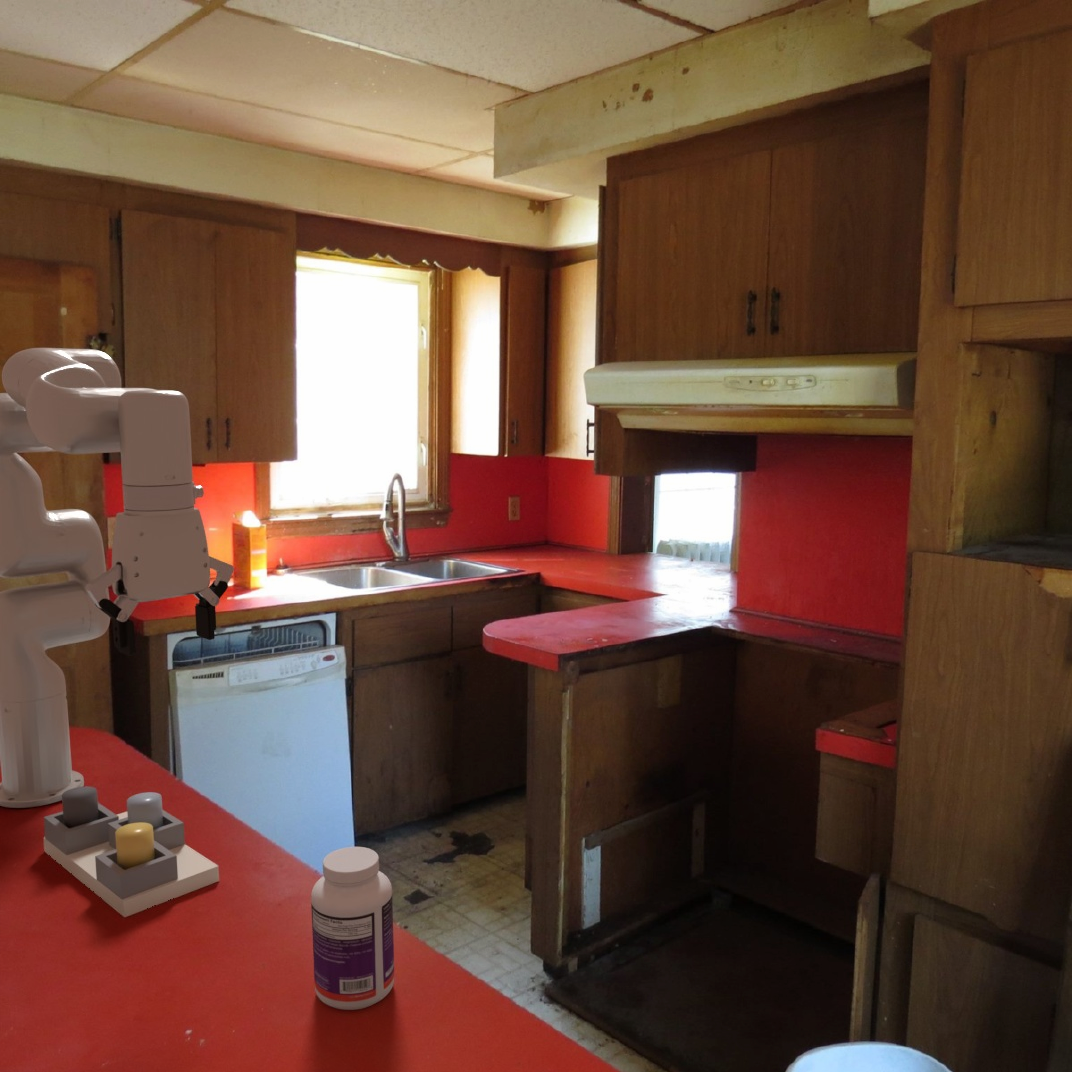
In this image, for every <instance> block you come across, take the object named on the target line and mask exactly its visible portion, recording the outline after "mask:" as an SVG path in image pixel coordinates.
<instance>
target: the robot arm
mask: <svg viewBox="0 0 1072 1072" xmlns="http://www.w3.org/2000/svg"><path fill="white" fill-rule="evenodd" d="M1 381H2V385H3V388H4V390H5V392H1V393H0V578H2V579H19V578H29V577H38V576H46V575H54V574H62V573H66V575H67V577H68V580H67V581H66V580H64V581H58V582H57V581H56V582H49V583H41V584H40V583H39V584H33V585H27V586H26V585H25V586H19V587H13V588H8V589H4V590H2V591H0V771H1V772H0V773H1V782H0V807H4V808H13V809H25V808H34V807H43V806H46V805H50V804H55V803H58V802H61V801H62V794H63V793H64V792H65V791H67V790H70V789H73V788H77V787H85V786H84V785H85V780H84V776H83V774H81V773H80V772H78V771H76V770H73V769H72V766H73V765H72V755H71V754H72V753H71V739H70V726H69V713H68V712H69V711H68V700H67V699H68V698H67V689H66V688H67V686H66V685H67V684H66V677H65V674H64V672H63V669H62V668H61V667H60V666H59V665H58V664H57V663H56V662H55V661H54V660H52V659H51V657H49V656H48V655H47V654H46V650H48V649H51V648H56V647H59V646H65V645H66V646H67V645H71V644H77V643H82V642H87V641H91V640H92V641H93V640H94V639H95V640H96V639H97V638H100V637H101V636H103V635H104V634H105V633H107V631H108V630H109V626H110V621H111V620H112V635H113V636H112V637H113V644H114V647H115V648H116V649H117V651H118V653H120V654H123V655H126V656H128V657H130V656H134V655H135V654H136V651H137V650H136V639H135V638H136V637H135V623H134V621H133V620H131V619H130V617H131V615H132V613H133V612H134V610H135V609H136V607H137V606H138V605H139V603H144V602H153V601H160V600H165V599H166V600H167V599H170V598H177V597H183V596H189V595H193V596H194V597H195V598H196V599H197V600H198V602H197V603H195V606H194V614H195V616H194V617H195V632H196V636H198V637H199V638H203V639H206V640H208V641H211V640H214V639H215V635H216V634H215V630H216V629H217V618H216V606H218V605H219V604H220V602H221V601H220V599H221V597H223V595H224V594H225V592H226V591H227V590H228V588H229V582H230V580H231V578H232V575H233V573H234V570H235V568H234V566H233V565H232V564H229V563H228V562H224V561H222V560H220V559H217V558H215V557H212V556H210V554H209V546H208V540H207V535H206V531H205V526H204V523H203V519H202V515H201V512H200V509H199V508H196V507H195V505H196V499H198V498H203V496H204V487H203V486H201V485H195V482H194V481H193V479H194V477H193V461H192V460H193V458H192V436H191V418H190V417H191V416H190V406H189V401H188V397H186V396H185V394H184V393H182V392H180V391H177V390H169V389H154V388H147V387H122V376H121V372H120V369H119V367H118V365H117V363H116V362H115V361H114V360H113V358H112V357H111V356H109V355H108V354H107V353H106V352H103V351H101V350H100V349H99V350H98V349H92V348H64V347H62V348H61V347H57V348H56V347H32V348H27V349H24V350H20V351H18V352H16V353H14V354H13V355H11V356H10V357H9V358H8V360H6V362H5V364H4V365H3V368H2V371H1ZM47 452H48V453H49V452H50V453H52V452H59V453H62V454H66V455H67V454H69V455H88V454H104V453H105V454H107V453H120V463H121V466H120V467H121V478H122V479H121V481H122V499H123V512H117V513H116V516H115V522H114V528H113V535H112V547H111V548H112V550H111V567H110V568H109V569H108V570H107V566H106V565H107V564H106V558H105V557H106V556H105V548H104V542H103V536H102V532H101V529H100V527H99V525H98V523H97V521H96V520H95V518H94V516H92V514H90V513H89V512H87V511H86V510H82V509H75V508H66V509H55V510H53V509H52V510H48V509H47V508H46V505H45V499H44V490H43V489H44V488H43V484H42V480H41V478H40V476H39V474H38V473H37V472H36V470H35V469H34V468H33V467H32V465H31V464H30V463H28V462H27V460H26V459H24V457H22V456H21V455H20V453H47ZM211 570H214V571H215V572H216V576H215V580H213V581H212V583H210V582H211ZM111 586H112V591H113V594H114V595H116V596H117V597H116V599H115V600H114V601H112V600H110V592H109V587H111Z"/></svg>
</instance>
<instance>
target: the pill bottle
mask: <svg viewBox="0 0 1072 1072" xmlns="http://www.w3.org/2000/svg"><path fill="white" fill-rule="evenodd" d="M322 873H323V875H322V876H321V877H320V878H319V879H318V880H317V881H316V882H315V883H314V885H313V887H312V890H311V895H310V903H311V925H312V927H311V929H312V950H313V954H312V956H313V977H314V978H313V979H314V980H313V981H314V982H313V983H314V991H315V993H316V995H317V998H318V999H319V1000H320V1001H321V1002H322V1003H324V1004H325V1005H327V1006H329V1007H332V1008H334V1009H338V1010H347V1011H349V1010H350V1011H351V1010H352V1011H354V1010H362V1009H365V1008H367V1007H368V1008H369V1007H370V1006H373V1005H374V1004H376V1003H378V1002H380V1001H382V1000H383V999H384V998H385V997H386V996H388V994H389V993H390V992H391V990H392V988H393V986H394V983H395V954H394V953H395V950H394V949H395V943H394V941H395V940H394V918H393V917H394V913H393V909H394V908H393V907H394V906H393V904H394V903H393V886H392V883H391V881H390V878H388V876H387V875H386V874H385V873H383V872H382V871H380V857H379V854H378V853H377V852H376V851H375V850H374V849H372V848H369V847H363V846H348V847H341V848H339V849H335V850H333V851H331V852H329V853H327V855H325V857H324V858H323V861H322Z"/></svg>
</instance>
